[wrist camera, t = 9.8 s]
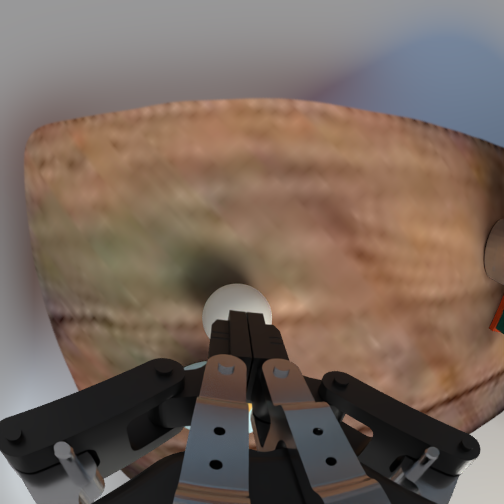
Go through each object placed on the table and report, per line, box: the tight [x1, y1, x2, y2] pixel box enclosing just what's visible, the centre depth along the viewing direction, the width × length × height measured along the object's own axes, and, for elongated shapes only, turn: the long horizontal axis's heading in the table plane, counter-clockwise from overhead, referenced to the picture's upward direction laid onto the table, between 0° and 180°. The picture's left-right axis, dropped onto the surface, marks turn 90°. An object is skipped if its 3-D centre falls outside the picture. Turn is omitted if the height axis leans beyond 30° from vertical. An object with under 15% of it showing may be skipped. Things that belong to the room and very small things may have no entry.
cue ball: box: [202, 284, 272, 339], centre depth 24 cm, size 6×6×6 cm
